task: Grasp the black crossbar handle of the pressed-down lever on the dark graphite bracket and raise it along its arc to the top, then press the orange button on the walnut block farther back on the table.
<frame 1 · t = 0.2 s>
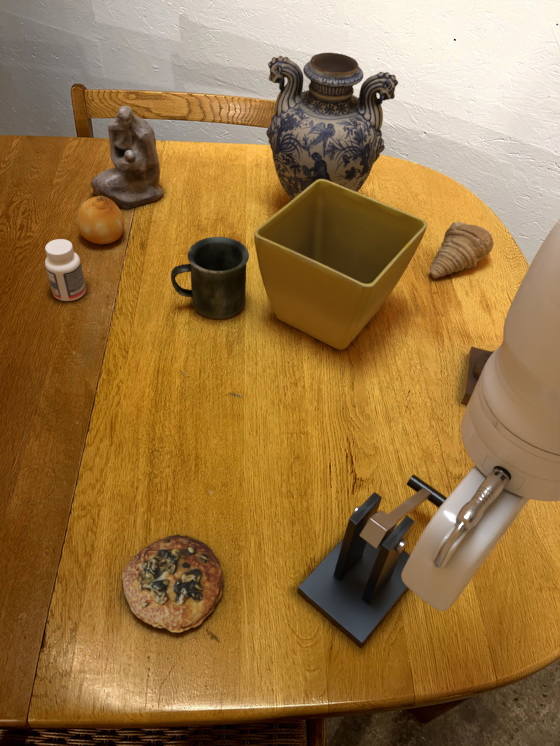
hand: (474, 535, 51), 26 cm above the table, tool pointing down, fingers open, 8 cm apart
figurine: (130, 195, 125), on the table
pill bottle: (69, 292, 105), on the table
mug: (210, 305, 105), on the table
button block: (491, 385, 97), on the table
button: (500, 365, 93), point 4 cm above the table, slide at 0.1 cm
lever: (404, 509, 71), point 9 cm above the table, hinge at -30.0°
bracket: (360, 581, 75), on the table
seashell: (457, 264, 116), on the table
decorative vase: (315, 212, 125), on the table
flower pot: (328, 314, 105), on the table
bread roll: (173, 587, 73), on the table
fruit: (103, 237, 115), on the table
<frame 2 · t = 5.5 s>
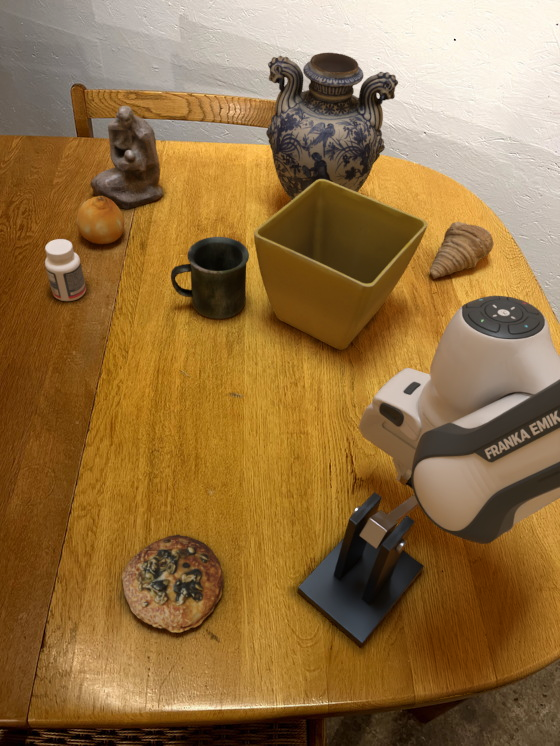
hand: (425, 495, 78), 4 cm above the table, tool pointing down, fingers closed on lever, 5 cm apart
lever: (404, 509, 71), point 9 cm above the table, hinge at -29.9°, touching gripper
everything else where it was.
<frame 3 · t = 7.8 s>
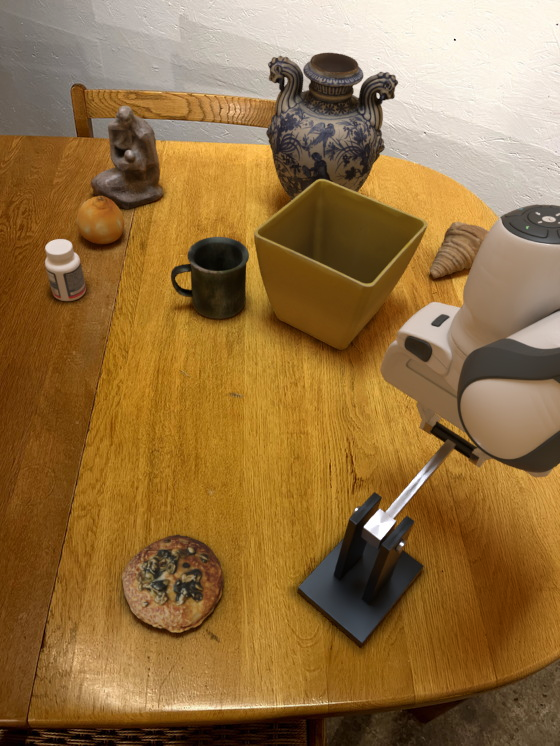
hand: (451, 444, 73), 13 cm above the table, tool pointing down, fingers closed on lever, 5 cm apart
lever: (416, 484, 69), point 13 cm above the table, hinge at 6.2°, touching gripper
everything else where it was.
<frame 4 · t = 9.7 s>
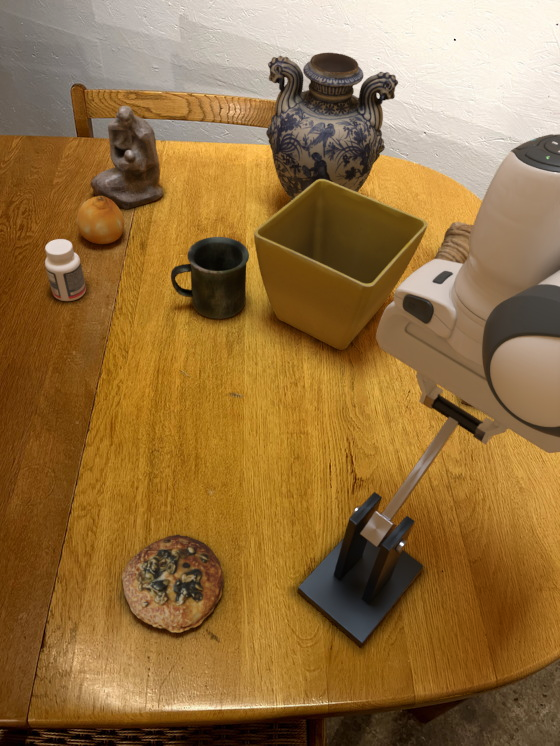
hand: (454, 419, 66), 20 cm above the table, tool pointing down, fingers closed on lever, 5 cm apart
lever: (416, 474, 66), point 16 cm above the table, hinge at 36.7°, touching gripper
everything else where it was.
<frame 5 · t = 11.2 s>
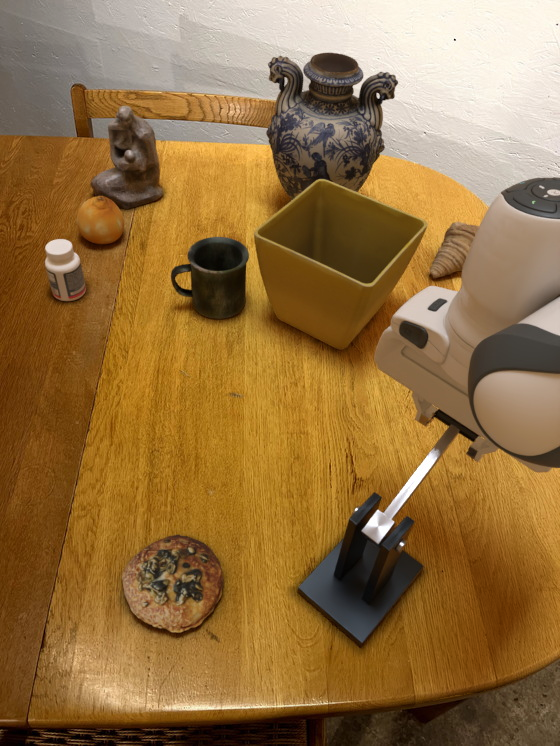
hand: (448, 437, 69), 16 cm above the table, tool pointing down, fingers closed on lever, 5 cm apart
lever: (417, 477, 67), point 15 cm above the table, hinge at 22.5°, touching gripper
everything else where it was.
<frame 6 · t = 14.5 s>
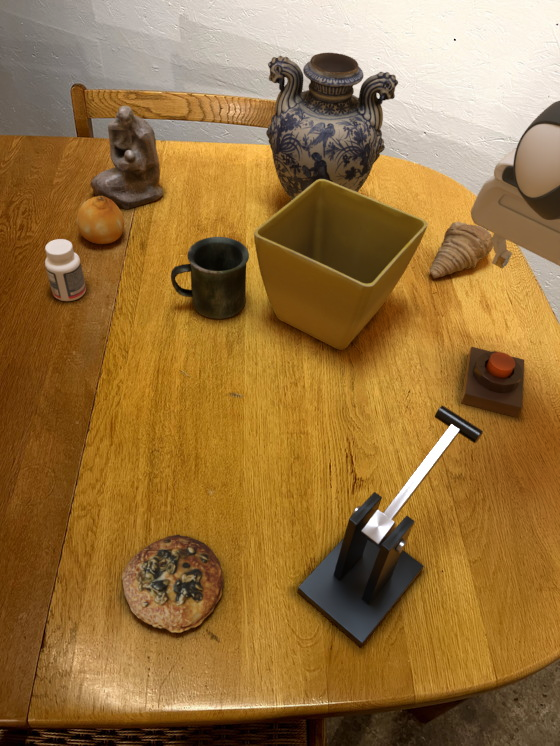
hand: (532, 281, 81), 20 cm above the table, tool pointing down, fingers open, 8 cm apart
lever: (417, 477, 67), point 15 cm above the table, hinge at 22.5°
everything else where it was.
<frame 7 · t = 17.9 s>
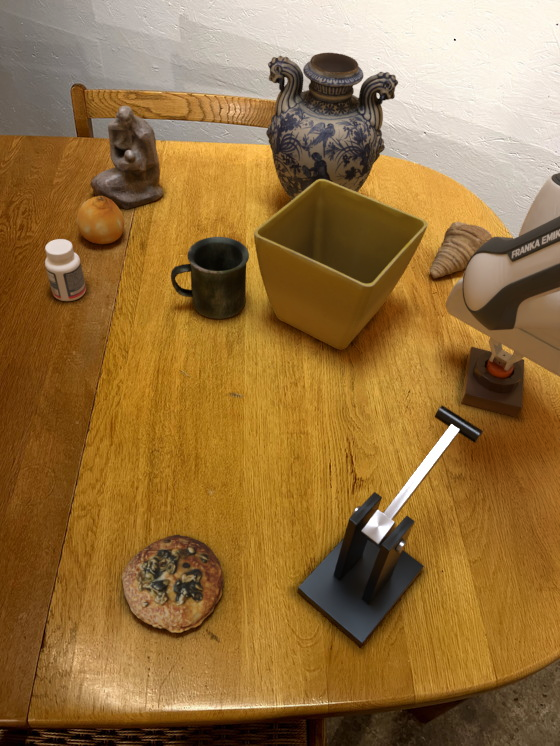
hand: (500, 363, 93), 5 cm above the table, tool pointing down, fingers closed, pressing on button
button: (499, 368, 94), point 4 cm above the table, slide at -0.6 cm, touching gripper
everything else where it was.
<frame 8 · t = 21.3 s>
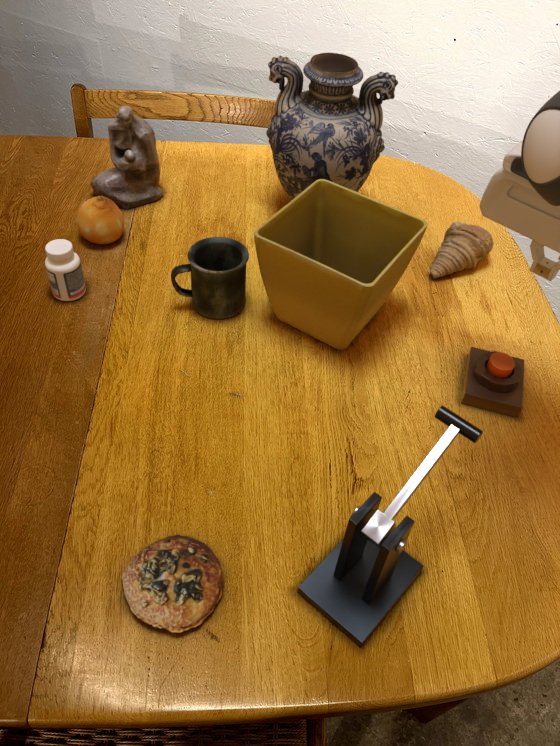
hand: (542, 274, 81), 21 cm above the table, tool pointing down, fingers closed
button: (500, 365, 93), point 4 cm above the table, slide at 0.1 cm
everything else where it was.
at the end: lever reached +37° during the clip, +22° at the end; lever at +22° (first picture: -30°); button pushed in 1.1 cm at the most during the clip, back to where it started at the end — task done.
